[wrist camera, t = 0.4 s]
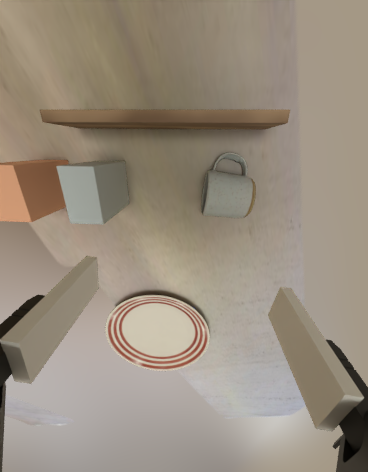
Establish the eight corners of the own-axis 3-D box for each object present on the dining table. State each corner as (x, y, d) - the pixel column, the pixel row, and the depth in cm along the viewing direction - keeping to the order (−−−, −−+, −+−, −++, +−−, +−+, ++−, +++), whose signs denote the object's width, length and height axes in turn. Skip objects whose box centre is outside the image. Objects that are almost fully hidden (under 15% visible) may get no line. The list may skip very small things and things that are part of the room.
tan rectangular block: (42, 159, 37) (-23, 164, 26) (67, 160, 37) (12, 165, 26) (53, 201, 40) (-1, 221, 29) (76, 201, 40) (31, 222, 29)
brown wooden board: (77, 119, 34) (39, 109, 26) (266, 119, 32) (290, 109, 24) (79, 128, 34) (42, 121, 26) (264, 129, 33) (287, 122, 24)
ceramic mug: (241, 212, 39) (251, 225, 32) (200, 208, 39) (201, 220, 32) (253, 155, 35) (268, 155, 27) (207, 150, 35) (210, 150, 28)
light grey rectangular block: (98, 160, 36) (56, 166, 25) (124, 161, 36) (93, 166, 25) (105, 202, 40) (70, 223, 29) (129, 203, 39) (103, 224, 29)
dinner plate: (158, 268, 46) (155, 277, 43) (229, 333, 53) (231, 345, 50) (90, 321, 55) (84, 332, 52) (159, 371, 62) (157, 383, 59)
